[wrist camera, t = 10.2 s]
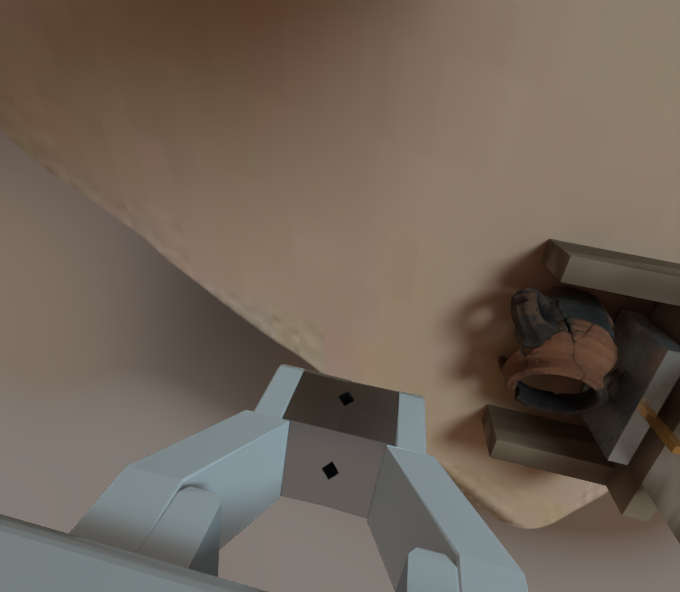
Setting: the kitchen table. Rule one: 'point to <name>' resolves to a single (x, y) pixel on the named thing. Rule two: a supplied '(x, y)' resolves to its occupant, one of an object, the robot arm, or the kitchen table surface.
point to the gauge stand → (578, 442)
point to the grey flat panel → (636, 389)
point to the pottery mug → (561, 349)
